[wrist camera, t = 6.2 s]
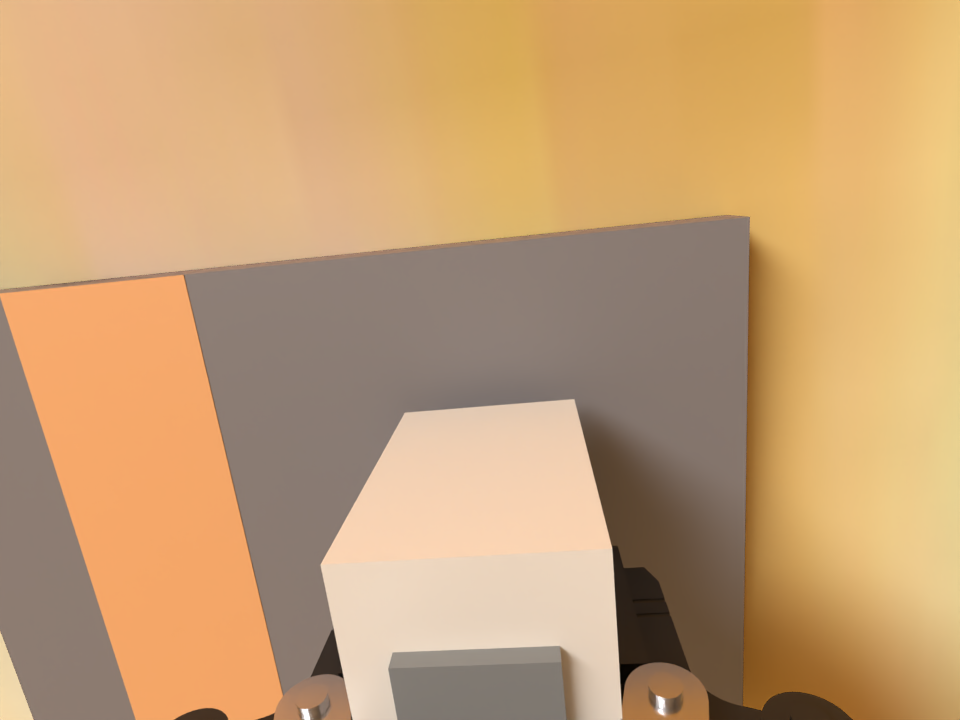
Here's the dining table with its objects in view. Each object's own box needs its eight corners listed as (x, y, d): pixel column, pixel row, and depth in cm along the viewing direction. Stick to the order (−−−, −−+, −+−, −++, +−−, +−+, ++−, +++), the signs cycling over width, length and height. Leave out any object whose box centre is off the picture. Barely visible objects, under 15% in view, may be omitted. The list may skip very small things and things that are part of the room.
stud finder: (574, 398, 13) (615, 562, 7) (594, 682, 16) (640, 991, 9) (404, 412, 14) (313, 577, 8) (446, 687, 16) (400, 987, 10)
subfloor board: (726, 214, 15) (750, 216, 13) (725, 701, 18) (742, 745, 17) (-67, 296, 17) (-123, 306, 15) (80, 716, 21) (47, 756, 19)
